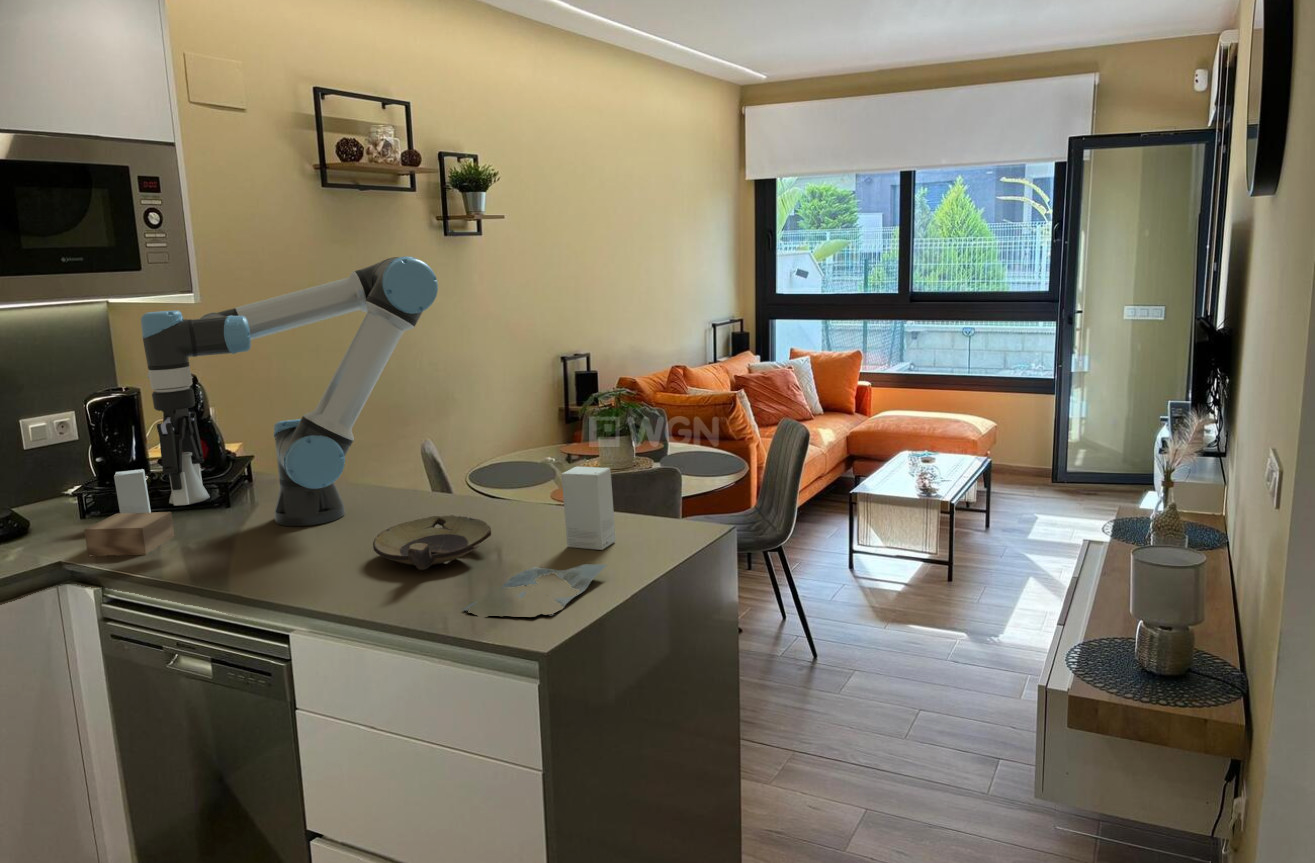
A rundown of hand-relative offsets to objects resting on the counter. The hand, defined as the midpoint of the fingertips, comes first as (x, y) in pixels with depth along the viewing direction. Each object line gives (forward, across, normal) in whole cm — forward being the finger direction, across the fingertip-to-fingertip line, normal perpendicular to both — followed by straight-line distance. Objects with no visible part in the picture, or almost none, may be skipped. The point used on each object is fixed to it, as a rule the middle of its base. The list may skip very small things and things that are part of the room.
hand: (189, 499), depth 202 cm
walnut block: (+11, -5, -15) cm, 19 cm away
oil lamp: (+12, +15, +49) cm, 53 cm away
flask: (+1, 0, 0) cm, 1 cm away
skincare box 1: (+11, -25, -23) cm, 35 cm away
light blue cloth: (+13, +38, +72) cm, 82 cm away
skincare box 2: (+13, +10, +81) cm, 83 cm away
